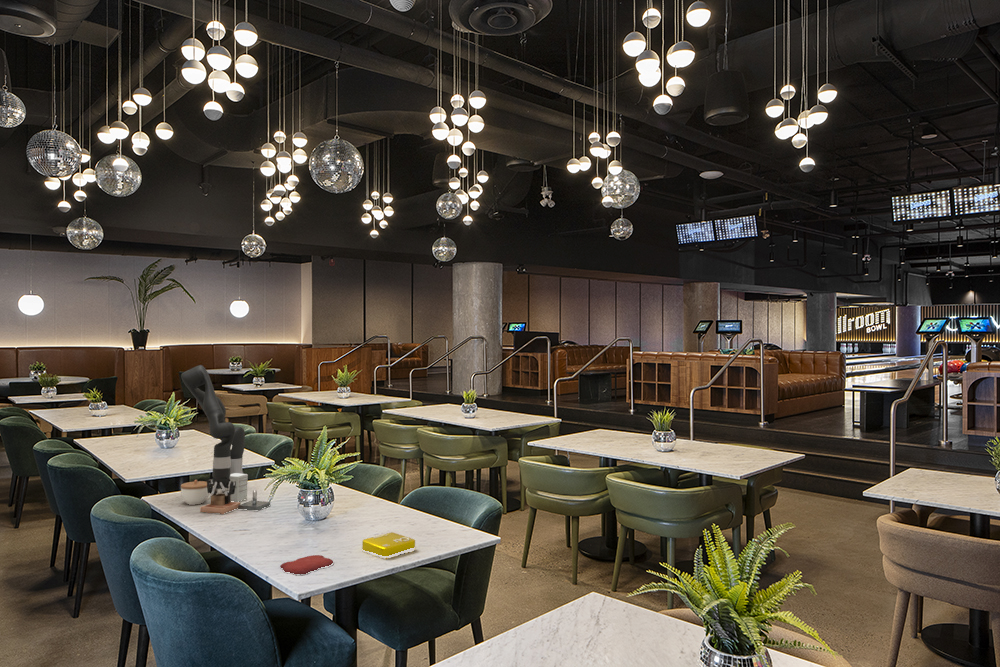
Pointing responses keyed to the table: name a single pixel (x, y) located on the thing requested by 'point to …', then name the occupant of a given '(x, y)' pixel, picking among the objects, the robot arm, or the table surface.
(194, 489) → the lidded bowl
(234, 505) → the terracotta tray
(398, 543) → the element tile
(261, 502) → the post stand
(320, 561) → the patty
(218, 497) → the brown wooden box
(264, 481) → the table surface
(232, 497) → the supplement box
